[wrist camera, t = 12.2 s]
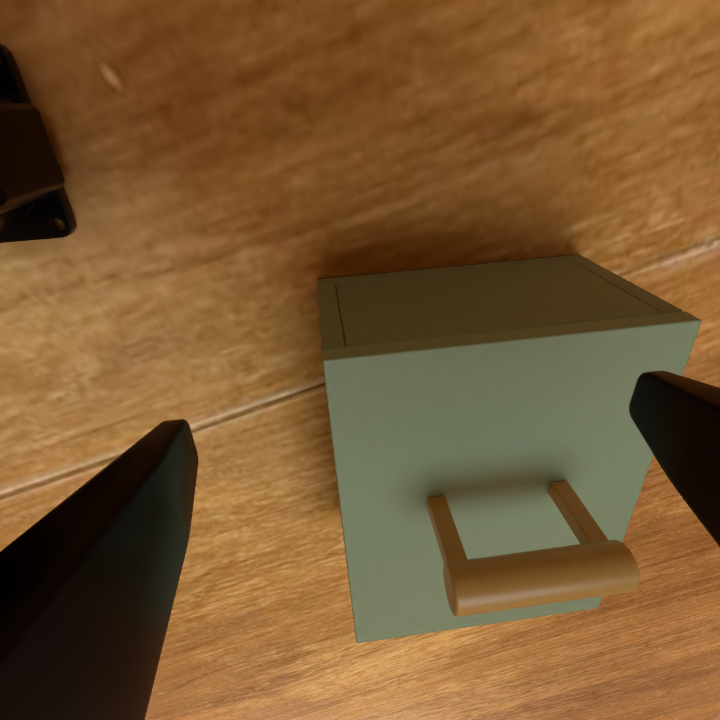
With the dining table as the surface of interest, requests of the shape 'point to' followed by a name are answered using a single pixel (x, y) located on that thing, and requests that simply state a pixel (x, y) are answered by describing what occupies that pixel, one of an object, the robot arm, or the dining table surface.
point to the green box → (475, 300)
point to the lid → (492, 469)
